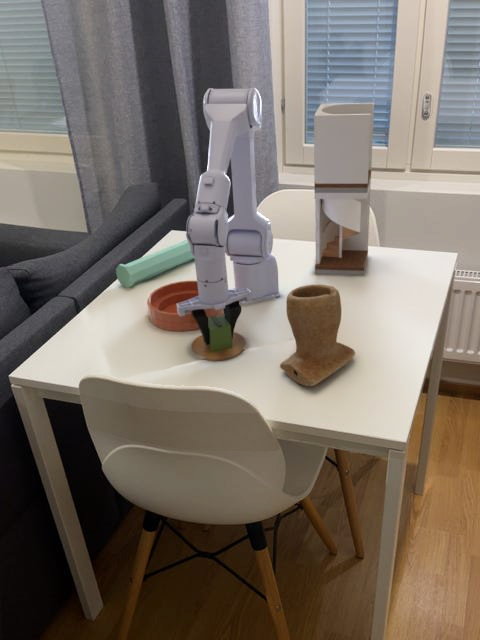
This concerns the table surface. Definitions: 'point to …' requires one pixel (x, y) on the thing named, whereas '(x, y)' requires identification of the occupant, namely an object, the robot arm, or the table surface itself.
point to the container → (154, 264)
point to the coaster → (204, 350)
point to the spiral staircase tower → (342, 186)
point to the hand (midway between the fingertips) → (218, 339)
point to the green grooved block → (219, 333)
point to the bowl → (175, 306)
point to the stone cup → (315, 334)
